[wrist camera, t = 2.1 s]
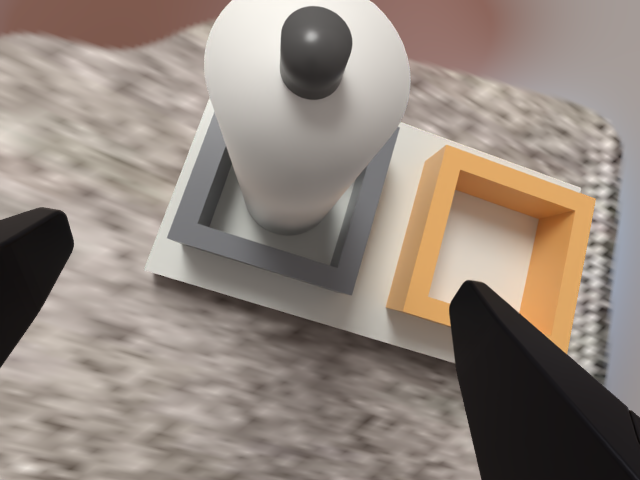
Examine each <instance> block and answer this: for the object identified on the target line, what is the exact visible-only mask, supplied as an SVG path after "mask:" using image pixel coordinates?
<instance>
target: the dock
mask: <svg viewBox="0 0 640 480" xmlns="http://www.w3.org/2000/svg"><path fill="white" fill-rule="evenodd" d="M580 191H581V188H580V187H577V186H574V185H572V184H569V183H566V182H563V181H561V180H558V179H555V178H552V177H550V176H547V175H544V174H541V173H539V172H536V171H533V170H531V169H528V168H525V167H522V166H520V165H517V164H514V163H511V162H509V161H506V160H503V159H500V158H498V157H495V156H492V155H489V154H487V153H484V152H481V151H479V150H476V149H473V148H470V147H468V146H465V145H462V144H459V143H457V142H454V141H451V140H448V139H446V138H443V137H440V136H437V135H435V134H432V133H429V132H427V131H424V130H421V129H418V128H416V127H413V126H410V125H407V124H405V123H402V122H400V123H399V125H398V127H397V129H396V130H395V131H394V133H393V134H392V136H391V137H390V138H389V139H388V141H387V142H386V143H385V144H384V145H383V147H382V148H381V149H380V150H379V152H378V153H377V154H376V155H375V156H374V158H373V159H372V160H371V161H370V162H369V164H368V165H367V166H366V167H365V169H364V170H363V171H362V172H361V173H360V175H359V176H358V177H357V178H356V179H355V181H354V182H353V183H352V184H351V185H350V187H349V188H348V189H347V190H346V192H345V193H344V194H343V195H342V196H341V198H340V199H339V200H338V201H337V202H336V204H335V205H334V206H333V207H332V208H331V210H330V211H329V212H328V213H327V215H326V216H325V217H324V218H323V219H322V221H321V222H320V223H319V224H318V225H317V226H315V227H314V228H313V229H311V230H309V231H307V232H305V233H302V234H299V235H292V236H285V235H279V234H275V233H272V232H270V231H268V230H266V229H264V228H263V227H262V226H260V225H259V224H258V223H257V222H256V221H255V220H254V219H253V217H252V216H251V214H250V213H249V211H248V209H247V206H246V203H245V200H244V197H243V194H242V191H241V188H240V186H239V183H238V180H237V177H236V174H235V171H234V168H233V165H232V162H231V159H230V156H229V153H228V150H227V147H226V144H225V141H224V138H223V135H222V132H221V129H220V126H219V123H218V120H217V117H216V114H215V111H214V108H213V105H212V103H211V100H210V98H209V101H208V103H207V106H206V109H205V111H204V114H203V116H202V119H201V122H200V124H199V127H198V130H197V132H196V135H195V137H194V140H193V143H192V145H191V148H190V150H189V153H188V156H187V158H186V161H185V164H184V166H183V169H182V171H181V174H180V177H179V179H178V182H177V184H176V187H175V190H174V192H173V195H172V198H171V200H170V203H169V205H168V208H167V211H166V213H165V216H164V219H163V221H162V224H161V226H160V229H159V232H158V234H157V237H156V239H155V242H154V245H153V247H152V250H151V253H150V255H149V258H148V260H147V263H146V266H145V268H144V270H145V271H148V272H152V273H155V274H158V275H162V276H165V277H168V278H172V279H175V280H178V281H182V282H185V283H188V284H192V285H195V286H198V287H202V288H205V289H208V290H212V291H215V292H218V293H222V294H225V295H229V296H232V297H235V298H239V299H242V300H245V301H249V302H252V303H255V304H259V305H262V306H265V307H269V308H272V309H275V310H279V311H282V312H285V313H289V314H292V315H295V316H299V317H302V318H305V319H309V320H312V321H315V322H319V323H322V324H325V325H329V326H332V327H335V328H339V329H342V330H345V331H349V332H352V333H355V334H359V335H362V336H365V337H369V338H372V339H375V340H379V341H382V342H385V343H389V344H392V345H395V346H399V347H402V348H405V349H409V350H412V351H415V352H419V353H422V354H425V355H429V356H432V357H435V358H439V359H442V360H445V361H449V362H452V363H455V358H454V350H453V341H452V333H451V325H450V316H449V306H450V303H451V301H452V299H453V297H454V296H455V294H456V293H457V291H458V290H459V288H460V287H461V285H462V284H463V282H465V281H466V280H474V281H480V282H483V283H485V284H486V285H488V286H489V287H490V288H491V289H492V290H493V291H495V292H496V293H497V294H498V295H499V296H500V297H501V298H503V299H504V300H505V301H506V302H507V303H508V304H510V305H511V306H512V307H513V308H514V309H515V310H516V311H518V312H519V313H520V314H521V315H522V316H523V317H524V318H526V319H527V320H528V321H529V322H530V323H531V324H533V325H534V326H535V327H536V328H537V329H538V330H539V331H541V332H542V333H543V334H544V335H545V336H546V337H547V338H549V339H550V340H551V341H552V342H553V343H554V344H556V345H557V346H558V347H559V348H560V349H561V350H562V351H564V352H565V353H566V354H567V351H568V346H569V340H570V335H571V330H572V324H573V319H574V313H575V308H576V303H577V297H578V292H579V286H580V281H581V276H582V270H583V265H584V260H585V254H586V249H587V243H588V238H589V233H590V227H591V222H592V217H593V211H594V206H595V200H596V199H595V198H592V197H589V196H587V195H584V194H581V193H580Z"/></svg>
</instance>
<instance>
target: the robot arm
mask: <svg viewBox="0 0 640 480" xmlns="http://www.w3.org/2000/svg"><path fill="white" fill-rule="evenodd" d="M73 247H74V240H73V236H72V233H71V229H70V226H69V222H68V219H67V216H66V214H65V213H64V212H63V211H61V210H56V209H51V208H44V207H40V208H36V209H33V210H30V211H27V212H24V213H21V214H18V215H15V216H12V217H9V218H5V219H2V220H0V368H1V366H2V365H3V363H4V362H5V360H6V359H7V358H8V356H9V355H10V353H11V352H12V351H13V349H14V348H15V346H16V345H17V343H18V342H19V341H20V339H21V338H22V336H23V335H24V333H25V332H26V331H27V329H28V328H29V326H30V325H31V323H32V322H33V320H34V319H35V317H36V316H37V314H38V313H39V311H40V310H41V308H42V306H43V304H44V303H45V301H46V299H47V297H48V295H49V294H50V292H51V290H52V288H53V286H54V284H55V283H56V281H57V279H58V277H59V275H60V273H61V271H62V270H63V268H64V266H65V264H66V262H67V260H68V259H69V257H70V255H71V253H72V251H73ZM449 316H450V325H451V333H452V341H453V350H454V358H455V365H456V371H457V376H458V380H459V385H460V389H461V393H462V398H463V402H464V406H465V411H466V415H467V419H468V424H469V428H470V432H471V436H472V441H473V445H474V449H475V454H476V458H477V462H478V467H479V471H480V475H481V480H640V417H639V416H637V415H636V414H635V413H634V412H633V411H630V410H629V409H628V407H627V406H626V405H625V404H623V403H622V402H621V401H620V400H619V399H618V398H616V397H615V396H614V395H613V394H612V393H611V392H610V391H609V390H607V389H606V388H605V387H604V386H603V385H602V384H601V383H599V382H598V381H597V380H596V379H595V378H594V377H592V376H591V375H590V374H589V373H588V372H587V371H586V370H584V369H583V368H582V367H581V366H580V365H579V364H577V363H576V362H575V361H574V360H573V359H572V358H571V357H569V356H568V355H567V354H566V353H565V352H564V351H562V350H561V349H560V348H559V347H558V346H557V345H556V344H554V343H553V342H552V341H551V340H550V339H549V338H547V337H546V336H545V335H544V334H543V333H542V332H541V331H539V330H538V329H537V328H536V327H535V326H534V325H533V324H531V323H530V322H529V321H528V320H527V319H526V318H524V317H523V316H522V315H521V314H520V313H519V312H518V311H516V310H515V309H514V308H513V307H512V306H511V305H510V304H508V303H507V302H506V301H505V300H504V299H503V298H501V297H500V296H499V295H498V294H497V293H496V292H495V291H493V290H492V289H491V288H490V287H489V286H488V285H486V284H485V283H483V282H480V281H474V280H466V281H465V282H463V284H462V285H461V287H460V288H459V290H458V291H457V293H456V294H455V296H454V297H453V299H452V301H451V303H450V306H449Z"/></svg>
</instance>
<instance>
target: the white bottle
mask: <svg viewBox="0 0 640 480" xmlns="http://www.w3.org/2000/svg"><path fill="white" fill-rule="evenodd" d="M204 73H205V80H206V86H207V89H208V93H209V96H210V100H211V103H212V105H213V108H214V111H215V114H216V117H217V120H218V123H219V126H220V129H221V132H222V135H223V138H224V141H225V144H226V147H227V150H228V153H229V156H230V159H231V162H232V165H233V168H234V171H235V174H236V177H237V180H238V183H239V186H240V188H241V191H242V194H243V197H244V200H245V203H246V206H247V209H248V211H249V213H250V214H251V216H252V217H253V219H254V220H255V221H256V222H257V223H258V224H259V225H260V226H262V227H263V228H264V229H266V230H268V231H270V232H272V233H275V234H279V235H285V236H292V235H299V234H302V233H305V232H307V231H309V230H311V229H313V228H314V227H315V226H317V225H318V224H319V223H320V222H321V221H322V219H323V218H324V217H325V216H326V215H327V213H328V212H329V211H330V210H331V208H332V207H333V206H334V205H335V204H336V202H337V201H338V200H339V199H340V198H341V196H342V195H343V194H344V193H345V192H346V190H347V189H348V188H349V187H350V185H351V184H352V183H353V182H354V181H355V179H356V178H357V177H358V176H359V175H360V173H361V172H362V171H363V170H364V169H365V167H366V166H367V165H368V164H369V162H370V161H371V160H372V159H373V158H374V156H375V155H376V154H377V153H378V152H379V150H380V149H381V148H382V147H383V145H384V144H385V143H386V142H387V141H388V139H389V138H390V137H391V136H392V134H393V133H394V131H395V130H396V129H397V127H398V125H399V123H400V122H401V120H402V118H403V116H404V113H405V110H406V107H407V104H408V99H409V94H410V82H411V80H410V67H409V62H408V57H407V54H406V51H405V48H404V45H403V43H402V41H401V39H400V37H399V35H398V33H397V31H396V30H395V28H394V26H393V25H392V23H391V22H390V21H389V19H388V18H387V17H386V16H385V14H384V13H383V12H382V11H381V10H380V9H379V8H378V7H377V6H376V5H375V4H374V3H372V2H371V1H370V0H232V1H231V2H230V3H229V4H228V5H227V6H226V8H224V10H223V11H222V12H221V14H220V15H219V17H218V18H217V20H216V21H215V23H214V25H213V27H212V29H211V32H210V34H209V38H208V41H207V44H206V50H205V56H204Z"/></svg>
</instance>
